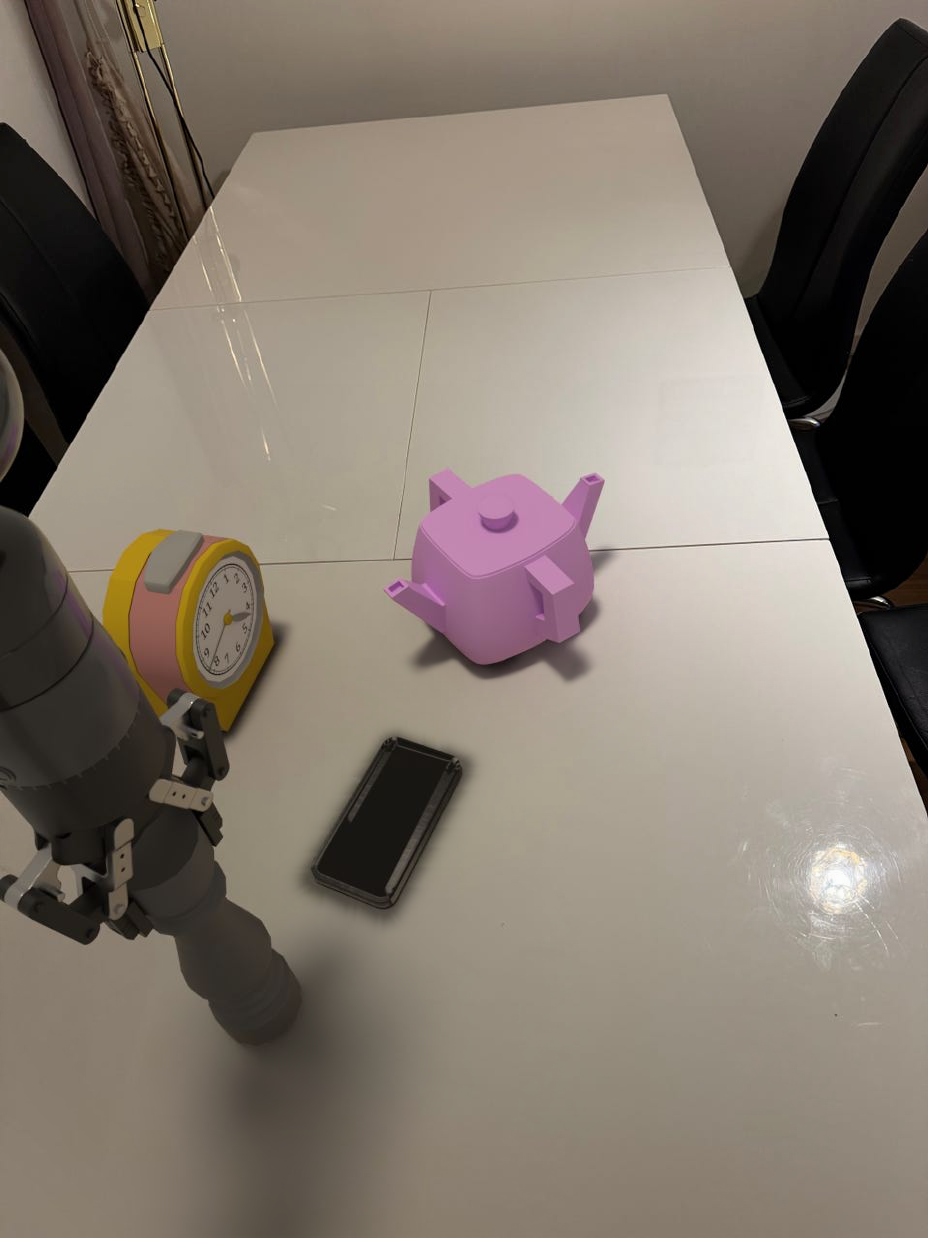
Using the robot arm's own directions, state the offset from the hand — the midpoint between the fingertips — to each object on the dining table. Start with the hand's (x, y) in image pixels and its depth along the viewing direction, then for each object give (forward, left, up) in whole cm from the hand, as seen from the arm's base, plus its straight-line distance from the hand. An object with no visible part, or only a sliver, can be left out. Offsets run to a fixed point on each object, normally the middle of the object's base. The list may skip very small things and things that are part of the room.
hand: (173, 880), depth 54 cm
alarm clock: (+24, +24, -22) cm, 41 cm away
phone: (+18, 0, -22) cm, 29 cm away
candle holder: (0, 0, -21) cm, 21 cm away
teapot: (+44, +2, -22) cm, 49 cm away
